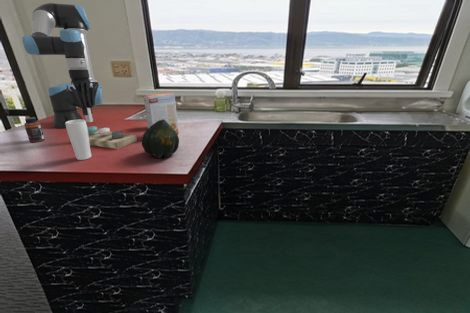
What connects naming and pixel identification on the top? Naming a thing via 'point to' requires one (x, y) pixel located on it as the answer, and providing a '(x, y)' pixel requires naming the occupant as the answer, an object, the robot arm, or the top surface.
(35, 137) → the supplement bottle
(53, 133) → the top surface
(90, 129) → the teal button
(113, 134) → the grey button
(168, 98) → the cracker box
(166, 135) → the squash
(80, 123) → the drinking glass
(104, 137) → the button panel
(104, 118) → the top surface
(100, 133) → the white button
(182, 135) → the top surface
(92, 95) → the robot arm
